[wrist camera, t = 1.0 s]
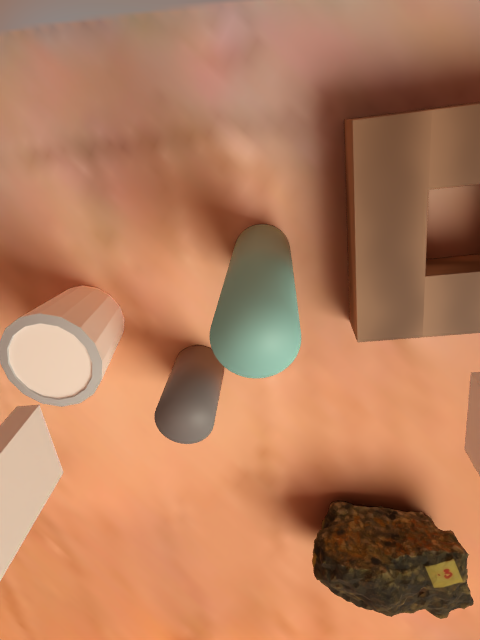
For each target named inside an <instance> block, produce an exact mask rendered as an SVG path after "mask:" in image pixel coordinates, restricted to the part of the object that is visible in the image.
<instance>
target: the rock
mask: <svg viewBox="0 0 480 640" xmlns="http://www.w3.org/2000/svg"><path fill="white" fill-rule="evenodd" d="M468 555H469V554H468V553H467V552H466V551H465V549H464V548H463V547H462V546H461V544H460V543H459V542H458V540H457V538H456V537H455V535H454V533H453V532H452V531H451V530H450V531H442V530H440V529H438V528H437V527H436V526H435V525H434V523H433V521H432V519H431V518H430V517H429V516H425V514H424V513H423V512H404V511H399V510H393V509H391V508H383V507H382V506H379V507H366V506H355V505H352V504H351V503H348V502H342V501H337V502H332V503H331V504H330V506H329V511H328V514H327V515H326V516H325V519H324V520H323V521H322V529H321V530H320V531H319V533H318V534H317V538H316V539H315V541H314V550H313V559H312V563H313V567H314V575H315V577H316V579H317V580H320V582H321V583H323V584H324V585H325V586H327V587H328V588H329V589H330V590H331V592H333V593H334V594H336V595H337V596H340V597H342V598H343V599H345V600H346V601H348V602H352V603H353V604H355V605H356V606H358V607H362V608H365V609H368V610H374V611H376V612H379V613H383V614H385V615H387V616H391V617H392V616H393V615H396V614H399V613H414V612H416V611H418V610H422V609H426V610H427V611H429V612H430V613H431V614H433V615H434V616H436V617H438V618H440V619H442V618H447V617H448V614H449V612H450V611H451V610H454V609H457V608H463V609H465V608H466V607H468V606H472V605H473V599H472V597H471V595H470V590H469V588H468V584H467V578H468V575H467V569H466V568H467V558H468Z"/></svg>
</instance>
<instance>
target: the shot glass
mask: <svg viewBox="0 0 480 640" xmlns="http://www.w3.org/2000/svg"><path fill="white" fill-rule="evenodd" d="M124 320H125V319H124V316H123V313H122V311H121V308H120V306H119V304H118V303H117V302H116V301H115V300H114V299H113V298H112V296H111V295H109V294H108V293H106V292H104V291H102V290H100V289H99V288H96V287H90V286H84V285H82V286H77V287H73V288H69V289H67V290H66V291H64V292H62V293H61V294H59V295H57V296H55V297H54V298H52V299H50V300H49V301H47V302H45V303H44V304H42V305H40V306H38V307H37V308H35V309H33V310H32V311H30V312H28V313H26V314H25V315H23V316H21V317H20V318H18V319H17V320H16V321H14V322H13V323H12V324H11V325H9V326H8V327H7V328H6V329H5V331H4V333H3V335H2V338H1V340H0V363H1V365H2V367H3V369H4V371H5V373H6V375H7V377H8V379H9V380H10V381H11V382H12V383H13V384H14V385H15V386H16V387H17V388H18V389H19V390H20V391H21V392H22V393H23V394H24V395H26V396H28V397H30V398H32V399H34V400H36V401H38V402H40V403H43V404H49V405H55V406H61V407H62V406H68V405H73V404H79V403H81V402H82V401H84V400H85V399H87V398H88V397H90V396H91V395H93V394H94V393H95V391H96V389H97V387H98V385H99V384H100V382H101V380H102V378H103V376H104V374H105V371H106V369H107V367H108V365H109V363H110V361H111V358H112V356H113V354H114V352H115V350H116V347H117V345H118V343H119V341H120V339H121V337H122V334H123V332H124Z"/></svg>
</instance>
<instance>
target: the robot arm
mask: <svg viewBox="0 0 480 640" xmlns="http://www.w3.org/2000/svg"><path fill="white" fill-rule="evenodd" d="M465 451H466V453H467V455H468V456H469V458H470V460H471V462H472V463H473V465H474V467H475V468H476V470H477V472H478V474H479V475H480V372H473V373H471V378H470V390H469V402H468V414H467V425H466V437H465ZM62 474H63V469H62V467H61V464H60V461H59V458H58V456H57V453H56V450H55V447H54V444H53V442H52V439H51V436H50V433H49V430H48V428H47V425H46V422H45V419H44V416H43V414H42V411H41V408H40V405H31V406H18V407H16V408H15V409H14V410H13V411H12V413H11V414H10V415H9V416H8V417H7V418H6V419H5V421H4V422H3V423H2V424H1V425H0V581H1V579H2V577H3V576H4V574H5V572H6V570H7V569H8V567H9V565H10V564H11V562H12V560H13V558H14V557H15V555H16V553H17V551H18V550H19V548H20V546H21V545H22V543H23V541H24V539H25V538H26V536H27V534H28V533H29V531H30V529H31V527H32V526H33V524H34V522H35V521H36V519H37V517H38V515H39V514H40V512H41V510H42V509H43V507H44V505H45V503H46V502H47V500H48V498H49V497H50V495H51V493H52V491H53V490H54V488H55V486H56V485H57V483H58V481H59V479H60V478H61V476H62Z"/></svg>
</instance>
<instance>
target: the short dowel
mask: <svg viewBox="0 0 480 640" xmlns="http://www.w3.org/2000/svg"><path fill="white" fill-rule="evenodd" d="M223 374H224V366H223V365H222V364H221V363H220V362H219V361H218V359H217V358H216V356H215V355H214V353H213V350H212V349H211V348H209V347H206V346H201V345H195V346H190V347H187V348H185V349H184V350H182V351H181V352H180V353H179V355H178V356H177V358H176V360H175V363H174V366H173V368H172V371H171V373H170V376H169V378H168V381H167V383H166V386H165V388H164V391H163V393H162V396H161V398H160V401H159V403H158V406H157V408H156V411H155V423H156V425H157V427H158V429H159V431H160V432H161V433H162V434H163V435H164V436H165V437H167V438H168V439H170V440H172V441H174V442H177V443H182V444H192V443H197V442H200V441H202V440H203V439H205V438H206V437H207V436H208V435H209V434H210V433H211V431H212V429H213V426H214V421H215V416H216V410H217V405H218V400H219V395H220V390H221V384H222V379H223Z"/></svg>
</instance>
